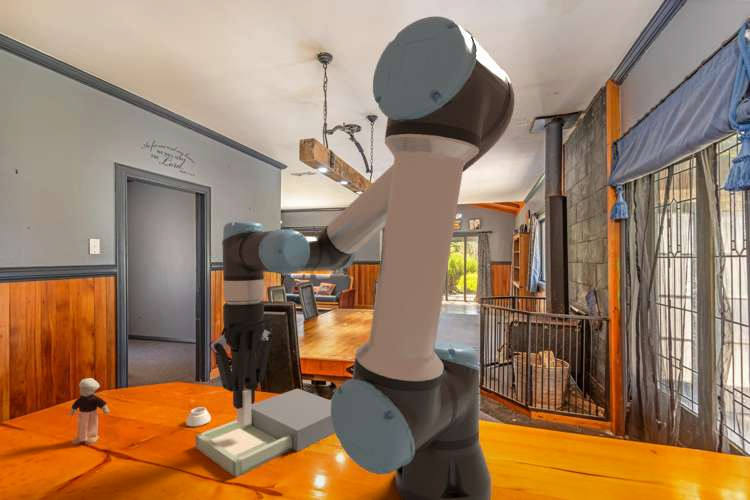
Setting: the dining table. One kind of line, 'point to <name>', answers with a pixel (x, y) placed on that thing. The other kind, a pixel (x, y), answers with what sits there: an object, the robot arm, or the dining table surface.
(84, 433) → the grandmother figurine
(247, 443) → the card
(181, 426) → the dining table surface
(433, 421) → the robot arm
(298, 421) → the grey drawer casing
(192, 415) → the white jar
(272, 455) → the tray
